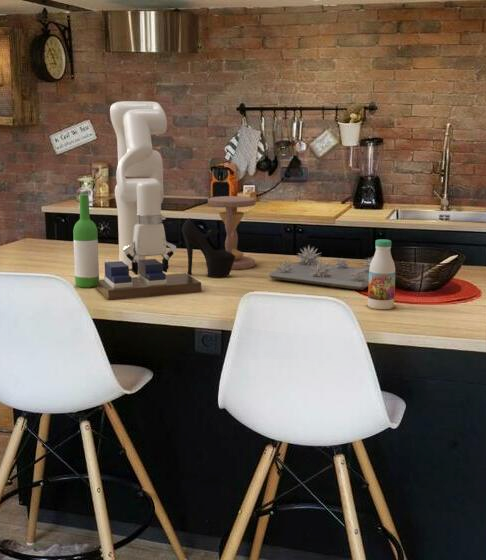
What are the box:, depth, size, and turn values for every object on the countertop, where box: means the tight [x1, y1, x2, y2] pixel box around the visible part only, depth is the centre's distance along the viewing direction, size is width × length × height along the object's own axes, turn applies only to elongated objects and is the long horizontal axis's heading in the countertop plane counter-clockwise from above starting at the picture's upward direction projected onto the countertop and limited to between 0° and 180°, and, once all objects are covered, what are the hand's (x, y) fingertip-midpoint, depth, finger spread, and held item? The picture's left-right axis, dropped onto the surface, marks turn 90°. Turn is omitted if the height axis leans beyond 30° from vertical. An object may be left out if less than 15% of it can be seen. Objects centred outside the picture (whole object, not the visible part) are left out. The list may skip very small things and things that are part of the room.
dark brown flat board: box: [96, 272, 202, 301], centre depth 253 cm, size 16×30×3 cm, turn 113°
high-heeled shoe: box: [181, 217, 235, 279], centre depth 274 cm, size 8×19×20 cm, turn 78°
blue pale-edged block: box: [137, 258, 167, 286], centre depth 252 cm, size 13×6×6 cm, turn 23°
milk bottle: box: [367, 238, 396, 310], centre depth 232 cm, size 8×8×20 cm
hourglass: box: [207, 195, 256, 271], centre depth 292 cm, size 18×18×25 cm
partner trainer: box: [103, 260, 133, 289], centre depth 248 cm, size 13×6×6 cm, turn 23°
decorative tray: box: [268, 245, 374, 291], centre depth 270 cm, size 35×26×10 cm
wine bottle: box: [72, 193, 100, 289], centre depth 256 cm, size 8×8×30 cm
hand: (150, 272), depth 254 cm, fingers open, 9 cm apart
